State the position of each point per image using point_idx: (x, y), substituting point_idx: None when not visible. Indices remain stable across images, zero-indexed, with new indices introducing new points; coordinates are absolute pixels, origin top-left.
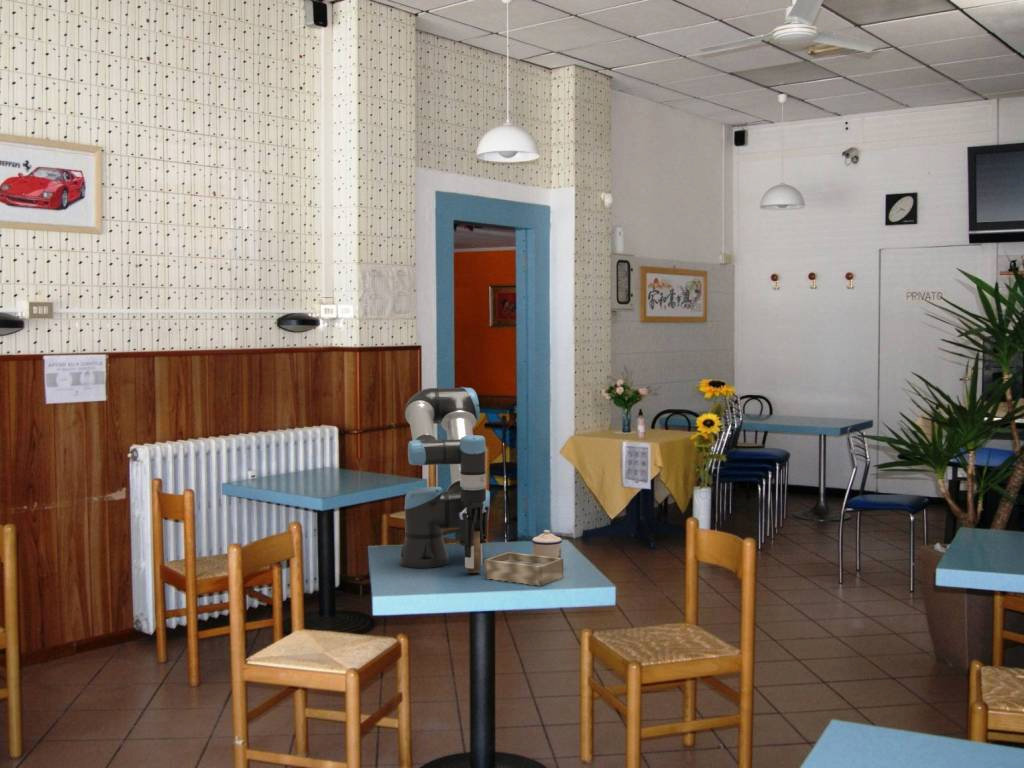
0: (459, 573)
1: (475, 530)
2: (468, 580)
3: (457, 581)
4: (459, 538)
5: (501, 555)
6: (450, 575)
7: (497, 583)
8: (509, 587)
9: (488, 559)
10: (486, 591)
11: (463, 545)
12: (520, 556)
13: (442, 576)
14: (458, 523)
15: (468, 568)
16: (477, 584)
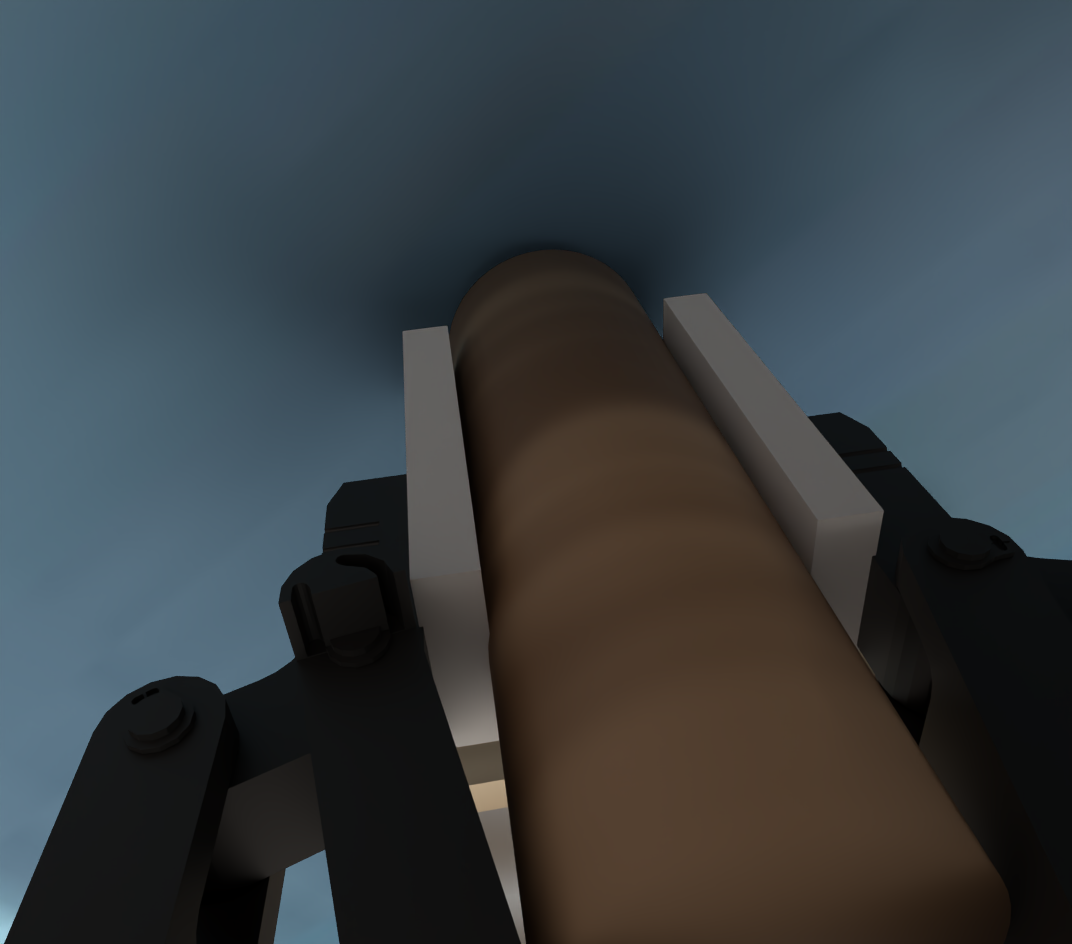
0: (440, 118)
1: (985, 918)
2: (196, 520)
3: (31, 456)
4: (31, 879)
5: None
6: (220, 90)
7: None
8: (290, 922)
9: (481, 805)
10: (4, 909)
11: (242, 695)
12: None
13: (49, 16)
14: None
15: (457, 348)
16: None
